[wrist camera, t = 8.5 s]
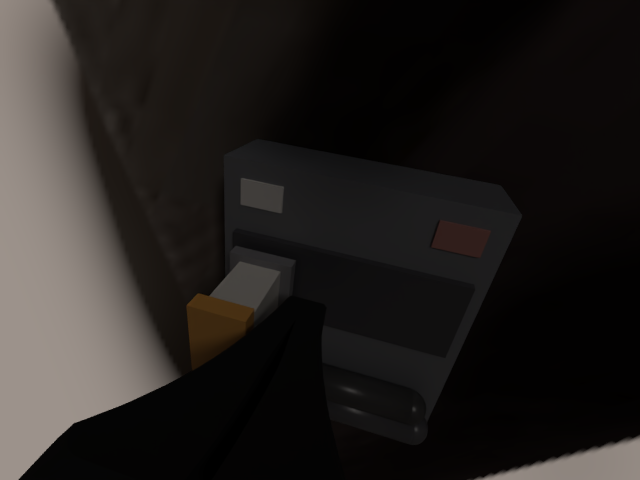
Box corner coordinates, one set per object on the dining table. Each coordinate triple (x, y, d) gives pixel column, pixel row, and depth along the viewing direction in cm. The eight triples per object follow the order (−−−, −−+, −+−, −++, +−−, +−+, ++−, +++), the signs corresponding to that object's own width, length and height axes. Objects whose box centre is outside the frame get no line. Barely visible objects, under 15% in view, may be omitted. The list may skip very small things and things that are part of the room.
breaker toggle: (296, 258, 12) (255, 324, 9) (290, 315, 14) (252, 391, 11) (235, 243, 13) (176, 302, 10) (235, 301, 14) (183, 369, 11)
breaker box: (500, 185, 13) (541, 242, 9) (422, 376, 18) (425, 467, 14) (257, 138, 15) (195, 168, 10) (250, 328, 20) (208, 397, 16)
